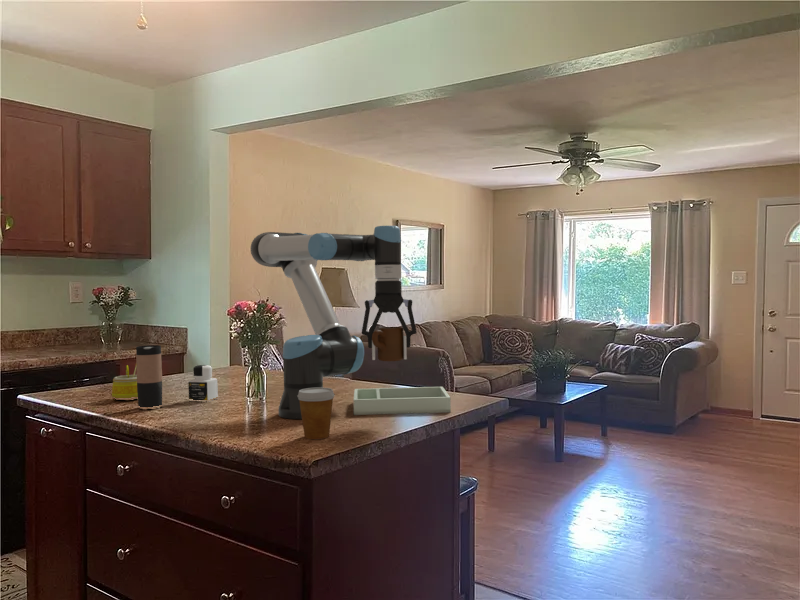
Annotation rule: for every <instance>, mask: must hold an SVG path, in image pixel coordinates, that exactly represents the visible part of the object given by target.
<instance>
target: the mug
mask: <svg viewBox="0 0 800 600" xmlns="http://www.w3.org/2000/svg"><path fill="white" fill-rule="evenodd" d="M404 333H405V331H404V329H403V327H402V326H381V327H377V329H375V330H374V332H373V334H372V342H373V344H374V346H375V348H377V359H378V361H381V362H400V361H403V360H404V336H405V334H404Z"/></svg>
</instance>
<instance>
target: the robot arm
mask: <svg viewBox="0 0 800 600" xmlns="http://www.w3.org/2000/svg"><path fill="white" fill-rule="evenodd" d="M250 255H251V257H252V259H254V261H255V262H256V263H258V264H259V265H261V266H264V267H269V268H280V269H282V271H283V274H284V275H285V277H286V278H289V279H291V280H292V283H293V285H294V288H295V290H296V292H297V295H298V297H299V300H300V302H301V305H302V306H303V308H304V312H305V313H306V316H307V318H308V321H309V323H310V325H311V327H312V329H313V332H314V334H308V335H299V336H295V337H292V338H289V339H287V340H285V342H284V343H283V346H282V347H283V348H282V349H283V350H282V361H283V393H282V395H281V398H280V402H279V405H278V417H280V418H283V419H289V420H290V419H291V420H302V415H301V408H300V401H299V399H298V397H297V395H298V394H299V390H301V389H306V388H324V384H323V383H324V378H325V377H333V376H338V375H339V376H340V375H341V376H342V375H348V374H351V373H355V372H357V371H358V370H359V369H361V367H362V365H363V363H364V357H365V347H364V343H363V341H362V340H361V338H360V337H358V336H356V335H351V333H350V331H349V329H348V327H347V326H345V325H343V324H341V323H340V320H339V318H338V316H337V314H336V311H335V310H334V307H333V304H332V302H331V301H330V299H329V296H328V294H327V292H326V289H325V287H324V285H323V283H322V281H321V278H320V276H319V273H317V270H316V268H317V264H318V261H354V262H355V261H356V262H364V261H366V262H367V261H374V279H375V283H374V284H375V286H374V288H375V289H374V291H375V294H374V295H375V296H374V298H373V299H369V300H368V299H367V300H364V307H365V309H364V310H365V311H364V316H363V320H362V321H363V322H362V328H361V334H362V335H363V336H365V337H367V347H368V349H371V353H372V354H371V356H372V357H371V358H372V361H375V360H376V346H374V344H373V342H372V334H373V332H374V331H376V327H377V325H378V323H379V321H380V318H381V315H382V314H384V313H385V314H386V313H391V314H393V313H394V314H395V315H396V316H397V318H398V320H399V323H400V325H401V327H403V332H404V333H405V335H404V358H403V360H408V357H407V355H408V354H407V348H411V336H413V335H416V334H417V328H416V323H415V318H414V313H413V309H412V308H413V300H412V299H405V298H403V296H402V295H403V294H402V293H403V292H402V281H401V279H402V237H401V229H400V227H399V226H397V225H377V226H375V227H374V230H373V234H349V233H348V234H345V233H344V234H341V233H328V232H320V233H314V234H307V233H302V232H293V233H291V232H275V231H267V232H261V233H259V234H257V236H255V237H254V239H252V242H251V244H250ZM373 304H375V306H376V307H377V308H378V310H377V313H376V315H375V318H374V320H373V322H372V324H371V327H370V329H369V331H368V323H369V319H370V312H371V308H373ZM402 304H404V306H405V307H406V309H407V313H408V318H409V323H410V328H411V330H409V328H408V326H407V323H406V322H405V319H404V317H403V315H402V314H401V311H400V309H399V308H400V307H401V306H402Z"/></svg>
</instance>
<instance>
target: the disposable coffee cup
mask: <svg viewBox="0 0 800 600" xmlns="http://www.w3.org/2000/svg"><path fill="white" fill-rule="evenodd" d="M335 396H336V395H335V393H334V390H333V388H330V387H323V388H306V389H301V390H299V394H298V395H297V397H298V399H299V401H300V408H301V415H302V419H301V421H302V426H303V435H304V439H308V440H323V439H327V438H329V437H330V431H331V422H332V421H331V420H332V411H333V402H334V397H335Z"/></svg>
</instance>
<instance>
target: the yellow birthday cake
mask: <svg viewBox="0 0 800 600" xmlns="http://www.w3.org/2000/svg"><path fill="white" fill-rule="evenodd" d="M136 372H137V363H135V367H134V371H133V374H130V369H129V365H128V364H127V365H125V375H118V376H114V377H113V379H112V385H111V387H112V388H111V397H112V398H113V397H115V398H131V397H138V393H137V374H136Z"/></svg>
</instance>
